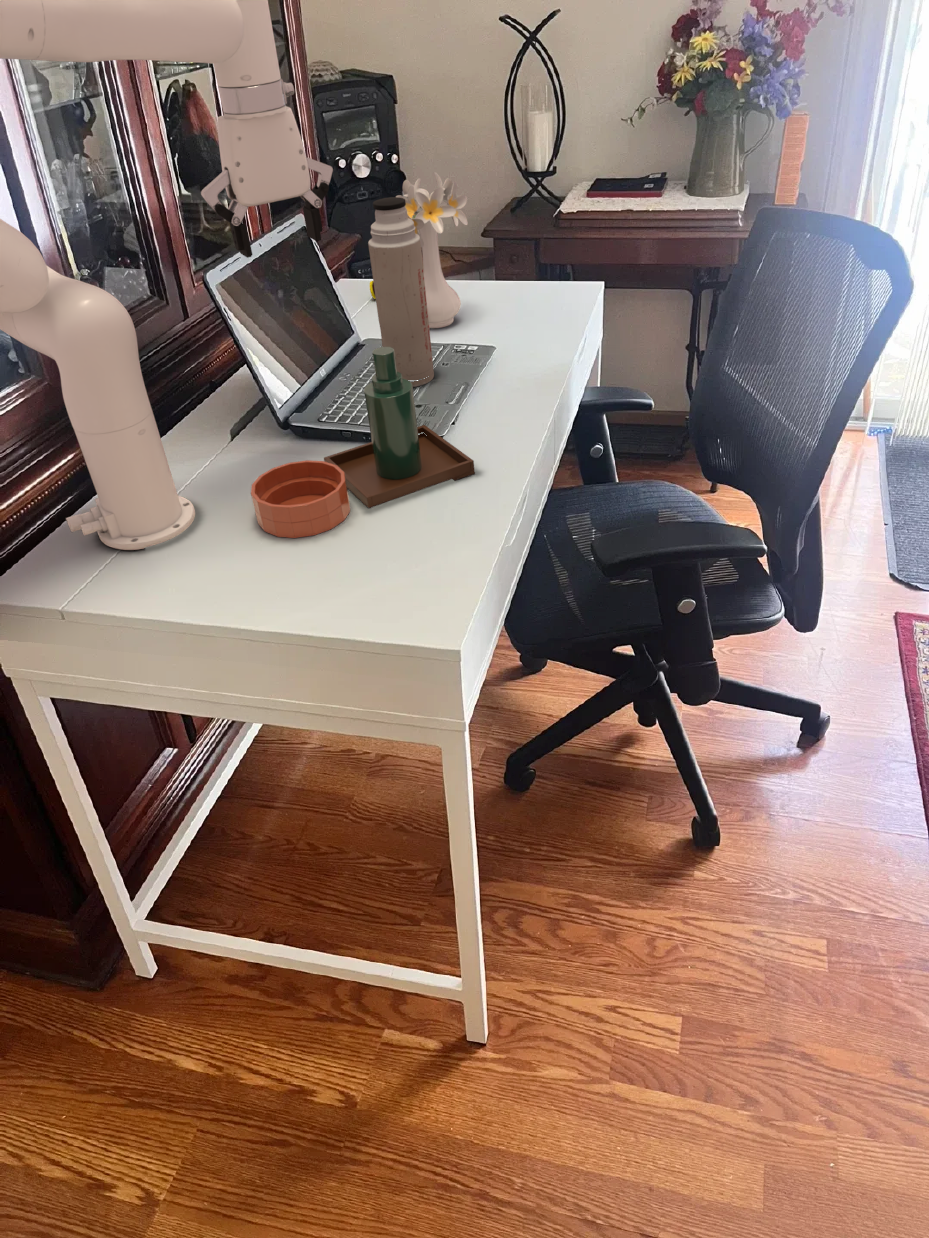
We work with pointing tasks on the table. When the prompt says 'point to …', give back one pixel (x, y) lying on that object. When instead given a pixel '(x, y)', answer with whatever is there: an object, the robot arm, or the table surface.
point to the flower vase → (435, 243)
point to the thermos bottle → (401, 289)
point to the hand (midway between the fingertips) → (280, 247)
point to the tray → (436, 468)
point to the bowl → (300, 498)
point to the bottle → (392, 419)
